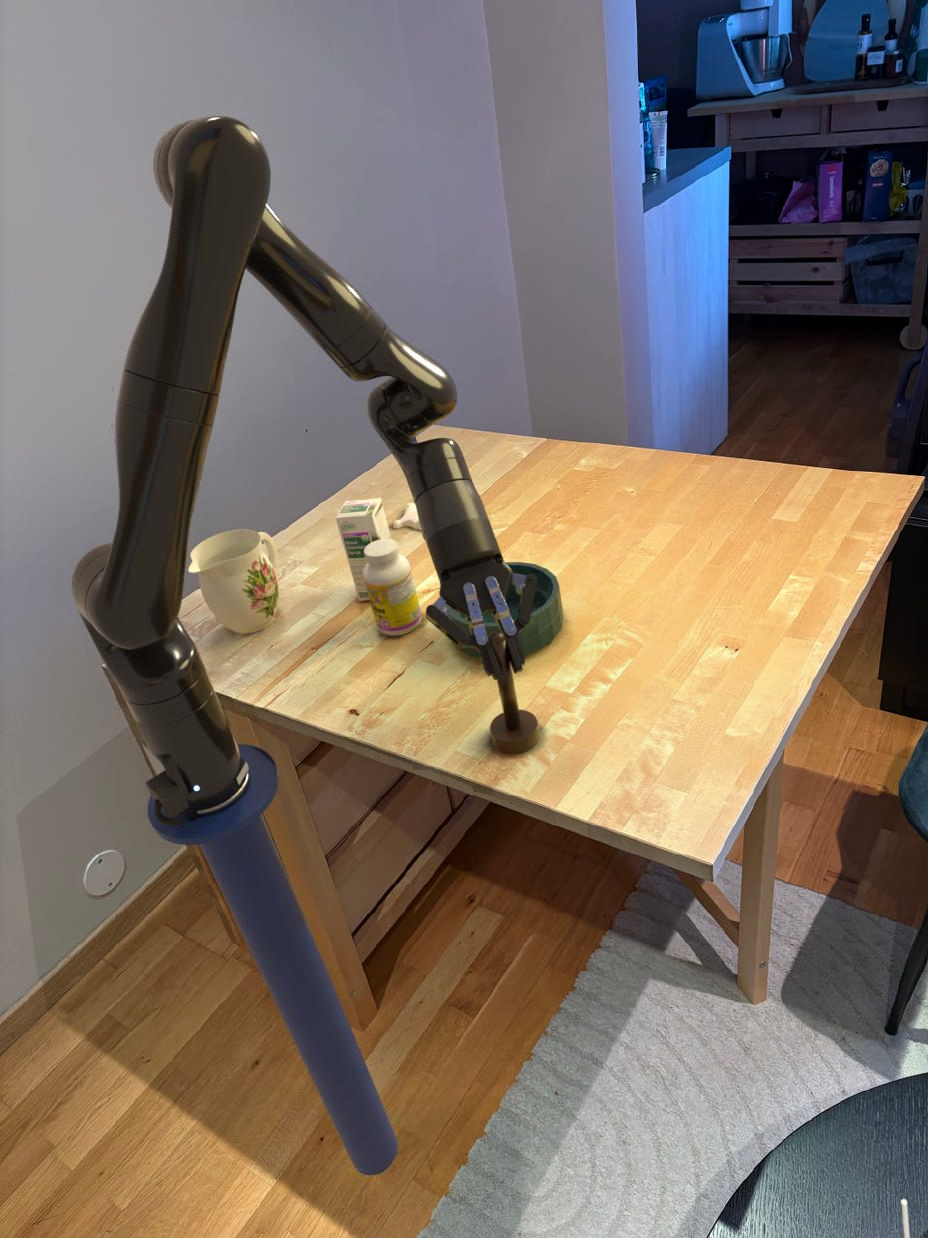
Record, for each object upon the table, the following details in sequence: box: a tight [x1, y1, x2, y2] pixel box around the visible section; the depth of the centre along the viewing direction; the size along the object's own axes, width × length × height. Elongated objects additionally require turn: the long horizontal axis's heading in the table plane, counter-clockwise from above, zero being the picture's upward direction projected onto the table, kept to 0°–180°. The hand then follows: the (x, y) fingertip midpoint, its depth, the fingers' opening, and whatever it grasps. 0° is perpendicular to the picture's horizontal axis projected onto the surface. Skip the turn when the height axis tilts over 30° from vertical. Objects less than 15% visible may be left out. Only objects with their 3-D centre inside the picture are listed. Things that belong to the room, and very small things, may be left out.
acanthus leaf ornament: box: [392, 502, 422, 531], centre depth 158 cm, size 8×7×2 cm
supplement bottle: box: [363, 538, 423, 636], centre depth 129 cm, size 7×7×13 cm
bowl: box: [445, 561, 565, 659], centre depth 125 cm, size 16×16×6 cm
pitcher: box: [187, 528, 280, 635], centre depth 137 cm, size 11×18×14 cm, turn 158°
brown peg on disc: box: [489, 631, 541, 755], centre depth 103 cm, size 6×6×15 cm
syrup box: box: [335, 497, 392, 602], centre depth 137 cm, size 6×6×14 cm
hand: (508, 674), depth 100 cm, fingers closed on brown peg on disc
